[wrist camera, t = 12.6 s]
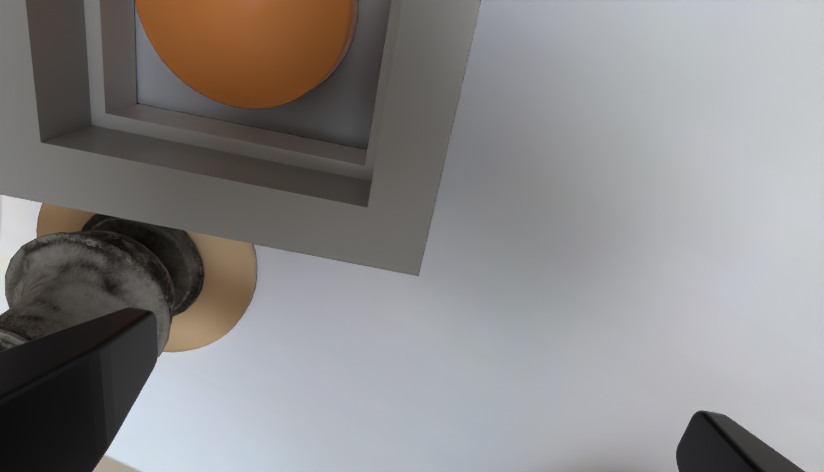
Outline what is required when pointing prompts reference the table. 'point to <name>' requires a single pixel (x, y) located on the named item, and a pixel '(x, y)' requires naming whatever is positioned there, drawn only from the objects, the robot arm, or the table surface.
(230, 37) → the button
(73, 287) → the salt shaker
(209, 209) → the breaker guard
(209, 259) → the coaster
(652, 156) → the table surface
